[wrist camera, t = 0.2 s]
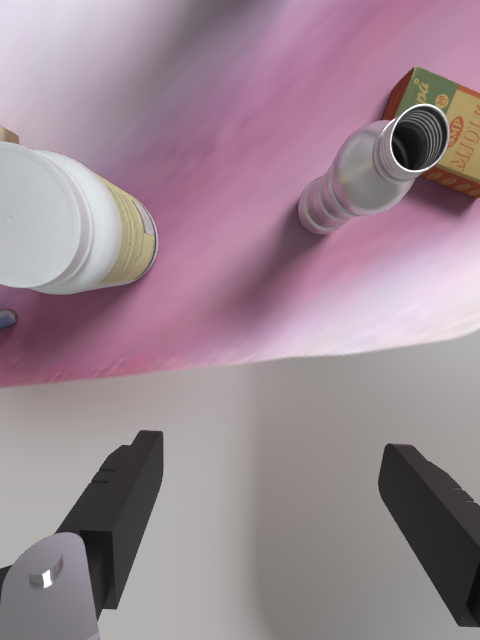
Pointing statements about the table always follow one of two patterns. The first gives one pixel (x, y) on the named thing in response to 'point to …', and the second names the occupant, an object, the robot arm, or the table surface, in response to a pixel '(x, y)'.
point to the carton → (464, 121)
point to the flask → (7, 318)
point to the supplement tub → (68, 226)
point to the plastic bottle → (375, 168)
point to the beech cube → (8, 136)
